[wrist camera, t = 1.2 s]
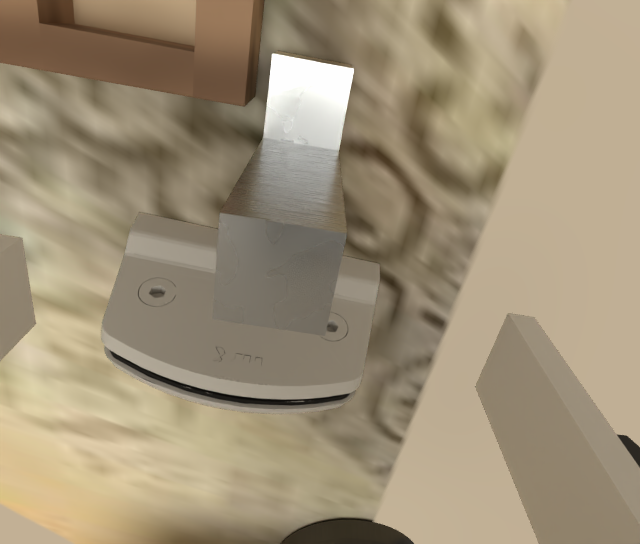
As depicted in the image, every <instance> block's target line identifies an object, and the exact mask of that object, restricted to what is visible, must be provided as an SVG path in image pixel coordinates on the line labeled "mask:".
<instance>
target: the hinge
mask: <svg viewBox="0 0 640 544" xmlns="http://www.w3.org/2000/svg"><path fill="white" fill-rule="evenodd" d="M217 243H218V229H216V228H211V227H207V226H202V225H197V224H193V223H188V222H183V221H179V220H174V219H169V218H165V217H160V216H155V215H151V214H146V213H141V212H139V214H138V216H137V217H136V219H135V221H134V223H133V225H132V227H131V229H130V232H129V237H128V241H127V245H126V250H125V254H124V257H123V260H122V263H121V266H120V269H119V272H118V275H117V278H116V281H115V284H114V287H113V290H112V293H111V296H110V299H109V303H108V306H107V309H106V312H105V315H104V318H103V321H102V330H101V339H102V342H103V344H104V345H105V348H104V350H105V354H106V356H107V358H108V359H109V360H110V361H111V362H112V363H113V364H114V365H115V367H116V368H118V369H120V370H121V371H123V372H125V373H126V374H128V375H130V376H131V377H133V378H135V379H137V380H139V381H141V382H143V383H145V384H147V385H149V386H151V387H153V388H156V389H158V390H160V391H163V392H165V393H168V394H170V395H173V396H176V397H179V398H182V399H185V400H188V401H191V402H195V403H199V404H202V405H206V406H211V407H216V408H220V409H226V410H233V411H239V412H248V413H261V414H295V413H307V412H316V411H323V410H328V409H334V408H339V407H340V406H342V405H344V404H345V403H347V402H348V401H349V400H351V399H352V397H353V396H354V394H355V392H356V389H357V388H358V387H359V385H360V384H361V381H362V376H363V371H364V366H365V360H366V355H367V349H368V344H369V338H370V332H371V327H372V321H373V316H374V310H375V305H376V299H377V293H378V288H379V282H380V264H379V263H374V262H370V261H365V260H360V259H356V258H351V257H346V256H342V260H341V265H340V269H339V274H338V278H337V283H336V288H335V292H334V297H333V301H332V306H331V311H330V315H329V320H328V325H327V329H326V334H325V336H322V335H316V334H309V333H302V332H295V331H288V330H282V329H275V328H268V327H261V326H254V325H248V324H241V323H234V322H227V321H220V320H214V319H212V313H213V299H214V285H215V271H216V257H217Z"/></svg>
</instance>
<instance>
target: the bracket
mask: <svg viewBox="0 0 640 544" xmlns="http://www.w3.org/2000/svg"><path fill="white" fill-rule="evenodd" d="M353 73H354V68H353V67H352V65H350V64H345V63H340V62H334V61H329V60H324V59H319V58H313V57H308V56H303V55H297V54H292V53H287V52H282V51H277V52H275V53H273V54H272V62H271V72H270V81H269V90H268V99H267V108H266V117H265V126H264V135H263V139H262V140H261V142H260V144H259V146H258V147H257V149H256V151H255V153H254V154H253V156H252V158H251V159H250V161H249V163H248V165H247V166H246V168H245V170H244V172H243V173H242V175H241V177H240V178H239V180H238V182H237V184H236V185H235V187H234V189H233V191H232V192H231V194H230V196H229V197H228V199H227V201H226V203H225V204H224V206H223V208H222V209H221V211H220V214H219V228H218V243H217V257H216V271H215V285H214V299H213V313H212V319H214V320H220V321H227V322H234V323H241V324H248V325H254V326H261V327H268V328H275V329H282V330H288V331H295V332H302V333H309V334H316V335H322V336H325V334H326V329H327V325H328V320H329V315H330V311H331V306H332V301H333V297H334V292H335V288H336V283H337V278H338V274H339V269H340V265H341V260H342V255H343V251H344V246H345V241H346V237H347V227H346V217H345V207H344V197H343V188H342V178H341V168H340V158H339V147H340V141H341V136H342V131H343V125H344V120H345V115H346V110H347V104H348V99H349V94H350V88H351V83H352V78H353Z"/></svg>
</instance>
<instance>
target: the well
mask: <svg viewBox="0 0 640 544" xmlns="http://www.w3.org/2000/svg"><path fill="white" fill-rule="evenodd" d="M263 9H264V0H0V63H5V64H11V65H17V66H22V67H28V68H33V69H39V70H44V71H50V72H55V73H61V74H66V75H72V76H78V77H83V78H89V79H94V80H100V81H105V82H111V83H116V84H122V85H128V86H133V87H139V88H144V89H150V90H155V91H161V92H166V93H172V94H178V95H183V96H189V97H194V98H200V99H205V100H211V101H216V102H222V103H227V104H233V105H239V106H245V105H246V104H247V103H248V102H250V101H251V100H252V99H253V98H254V97H255V91H256V81H257V70H258V60H259V50H260V40H261V29H262V19H263Z"/></svg>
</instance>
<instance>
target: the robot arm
mask: <svg viewBox="0 0 640 544" xmlns="http://www.w3.org/2000/svg"><path fill="white" fill-rule="evenodd" d="M35 324H36V321H35V315H34V308H33V302H32V296H31V290H30V283H29V277H28V271H27V265H26V258H25V252H24V246H23V240H22V238H21V237H14V236H8V235H2V234H0V361H1V360H2V359H3V357H4V356H5V355H6V354H7V353H8V352H9V351H10V350H11V349H12V348H13V347H14V346H15V345H16V344H17V343H18V342H19V341H20V340H21V339H22V338H23V337H24V336H25V335H26V334H27V333H28V332H29V331H30V330H31V329H32V327H33V326H34V325H35ZM475 387H476V390H477V392H478V395H479V397H480V399H481V402H482V405H483V407H484V410H485V412H486V414H487V417H488V419H489V422H490V424H491V427H492V429H493V432H494V434H495V437H496V439H497V442H498V444H499V447H500V449H501V451H502V454H503V456H504V459H505V461H506V464H507V466H508V469H509V471H510V474H511V476H512V479H513V481H514V484H515V486H516V488H517V491H518V493H519V496H520V498H521V501H522V503H523V506H524V508H525V511H526V513H527V516H528V518H529V520H530V523H531V525H532V528H533V530H534V533H535V535H536V538H537V540H538V543H539V544H640V447H639V446H638V445H637V444H635V443H634V442H633V441H632V440H631V439H630V438H629V437H628V436H624V435H617V434H616V433H615V432H614V430H613V429H612V427H611V426H610V425H609V423H608V422H607V420H606V419H605V418H604V416H603V415H602V413H601V412H600V410H599V409H598V407H597V406H596V405H595V403H594V402H593V400H592V399H591V397H590V396H589V395H588V393H587V392H586V390H585V389H584V387H583V386H582V385H581V383H580V382H579V380H578V379H577V377H576V376H575V375H574V373H573V372H572V370H571V369H570V367H569V366H568V365H567V363H566V362H565V360H564V359H563V357H562V356H561V355H560V353H559V352H558V350H557V349H556V348H555V346H554V345H553V343H552V342H551V340H550V339H549V338H548V336H547V335H546V333H545V332H544V330H543V329H542V327H541V326H540V325H539V324H538V322H537V321H536V319H535V318H534V317H529V316H524V315H516V314H510V313H508V314H507V317H506V319H505V321H504V323H503V326H502V328H501V330H500V332H499V334H498V337H497V339H496V341H495V343H494V346H493V348H492V350H491V352H490V355H489V357H488V359H487V361H486V364H485V366H484V368H483V370H482V373H481V375H480V377H479V379H478V381H477V384H476V386H475ZM282 544H414V543H413V542H412V541H411V540H410V539H409V538H408V537H406V536H405V535H404V534H402V533H401V532H399V531H397V530H395V529H393V528H391V527H388V526H385V525H382V524H378V523H374V522H369V521H362V520H334V521H327V522H322V523H318V524H314V525H311V526H308V527H305V528H303V529H301V530H299V531H297V532H295V533H294V534H292V535H291V536H289V537H288V538H287V539H286V540H284V541H283V542H282Z"/></svg>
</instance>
